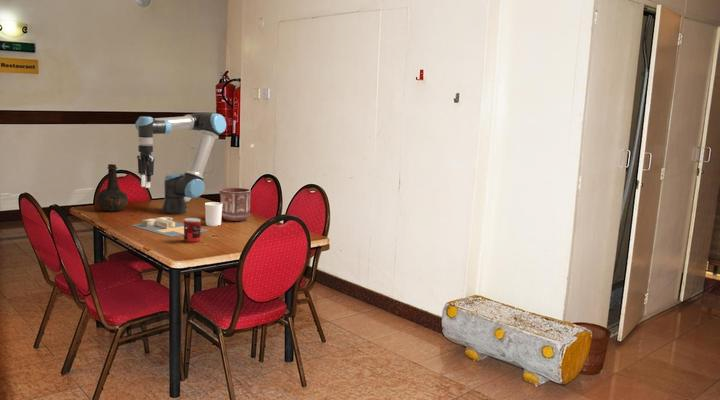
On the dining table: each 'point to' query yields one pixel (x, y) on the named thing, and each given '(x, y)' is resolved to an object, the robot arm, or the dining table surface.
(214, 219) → the candle holder
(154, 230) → the push mat
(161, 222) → the t block
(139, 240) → the dining table surface
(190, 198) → the teacup
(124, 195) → the dark mottled flask
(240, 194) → the pottery
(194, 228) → the canned food
